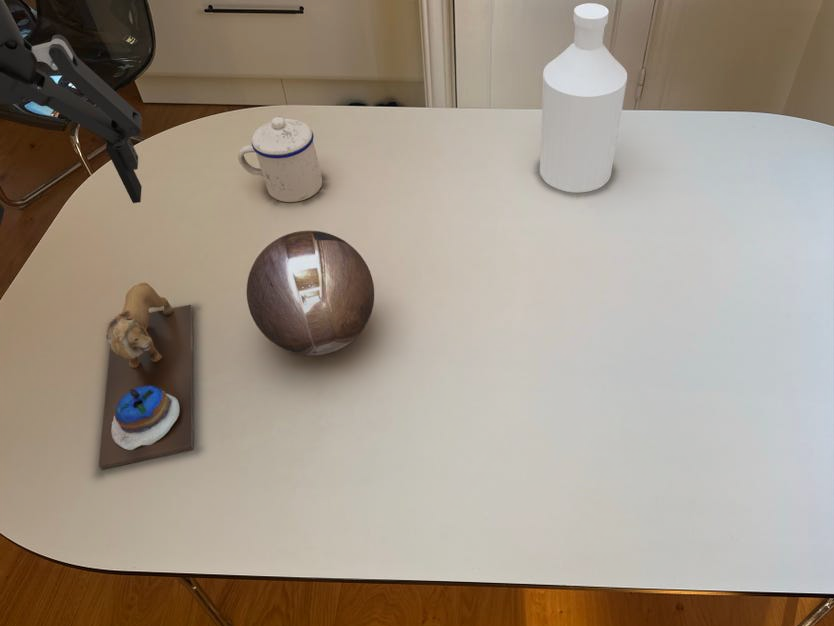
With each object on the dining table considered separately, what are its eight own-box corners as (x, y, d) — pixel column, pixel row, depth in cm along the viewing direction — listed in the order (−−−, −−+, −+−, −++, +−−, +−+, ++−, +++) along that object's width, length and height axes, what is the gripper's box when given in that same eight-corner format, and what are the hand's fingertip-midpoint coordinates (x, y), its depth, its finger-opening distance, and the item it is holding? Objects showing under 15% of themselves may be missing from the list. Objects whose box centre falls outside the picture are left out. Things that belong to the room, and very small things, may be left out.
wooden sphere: (293, 399, 85) (261, 314, 73) (247, 323, 93) (211, 235, 81) (402, 345, 90) (388, 257, 78) (349, 278, 98) (329, 189, 86)
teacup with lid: (327, 168, 114) (313, 102, 105) (320, 203, 108) (303, 137, 99) (254, 169, 114) (233, 104, 105) (242, 205, 108) (219, 138, 99)
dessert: (159, 376, 85) (154, 369, 80) (193, 420, 86) (190, 416, 80) (97, 417, 82) (88, 412, 77) (133, 461, 83) (126, 460, 77)
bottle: (527, 183, 110) (533, 23, 91) (552, 142, 117) (563, -15, 98) (600, 200, 107) (623, 38, 88) (621, 158, 114) (646, -1, 95)
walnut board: (101, 469, 79) (98, 466, 78) (115, 323, 93) (112, 319, 92) (193, 449, 80) (191, 445, 80) (192, 308, 95) (190, 304, 94)
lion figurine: (171, 381, 86) (142, 332, 79) (125, 390, 85) (92, 342, 78) (174, 298, 95) (149, 247, 88) (133, 305, 94) (104, 255, 87)
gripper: (-250, 36, 52) (-71, 252, 68) (103, -9, 56) (193, 207, 72) (-214, -7, 57) (-54, 205, 73) (109, -46, 60) (192, 165, 77)
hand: (69, 206), depth 73 cm, fingers open, 13 cm apart
